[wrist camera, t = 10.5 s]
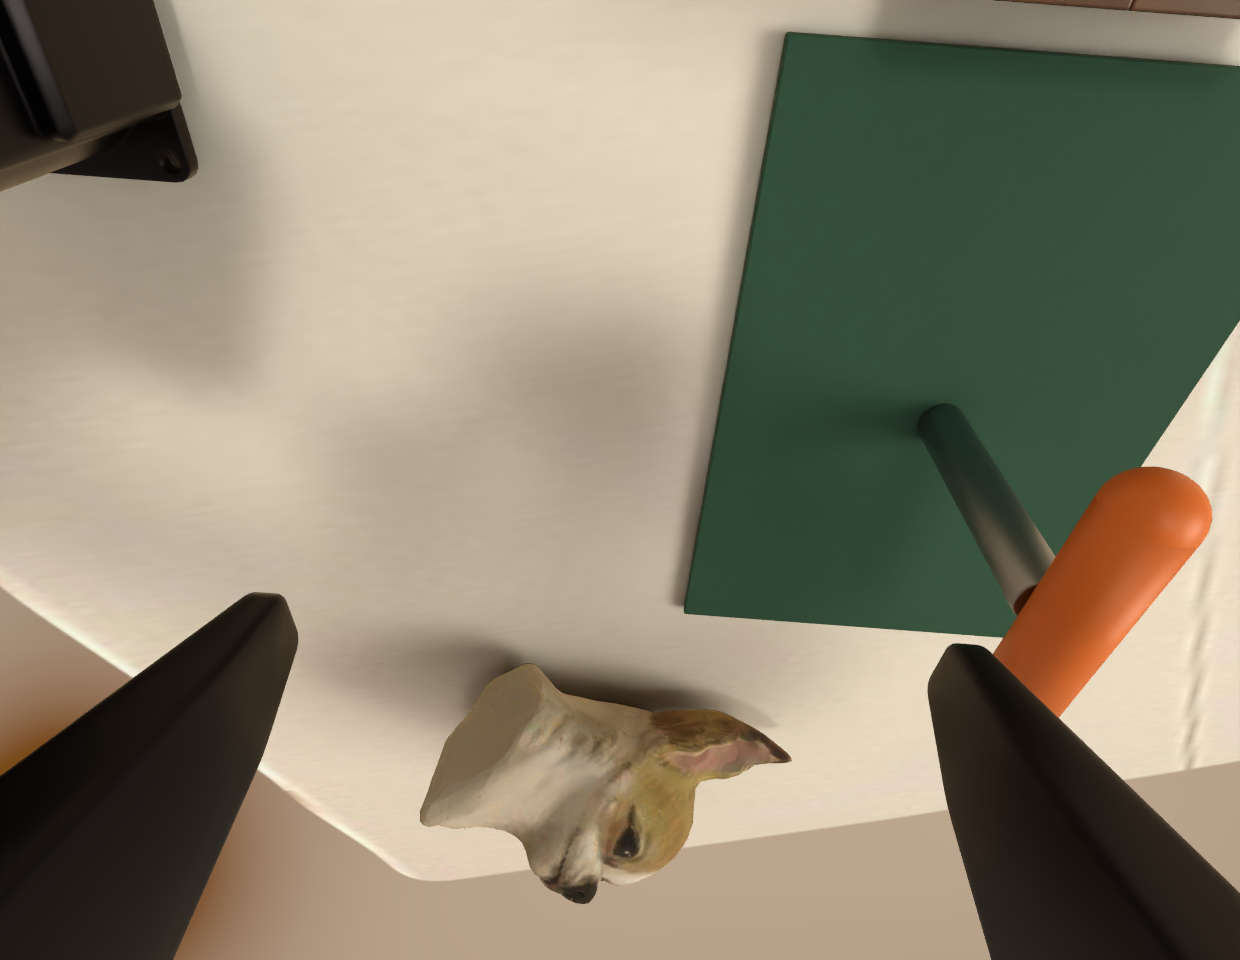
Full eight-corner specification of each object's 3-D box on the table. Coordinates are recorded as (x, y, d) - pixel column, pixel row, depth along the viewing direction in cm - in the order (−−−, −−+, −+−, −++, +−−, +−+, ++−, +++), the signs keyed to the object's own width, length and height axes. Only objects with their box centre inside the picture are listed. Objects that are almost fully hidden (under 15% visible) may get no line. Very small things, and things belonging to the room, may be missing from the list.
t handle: (871, 522, 24) (962, 771, 17) (963, 287, 19) (1155, 505, 12) (921, 526, 24) (1033, 777, 17) (1027, 292, 19) (1259, 513, 12)
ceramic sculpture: (464, 810, 21) (831, 895, 26) (500, 593, 28) (788, 694, 33) (365, 912, 27) (678, 966, 32) (414, 714, 34) (668, 784, 39)
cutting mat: (683, 606, 28) (683, 614, 28) (785, 31, 16) (788, 33, 15) (1020, 631, 28) (1024, 639, 28) (1389, 77, 16) (1403, 80, 15)
